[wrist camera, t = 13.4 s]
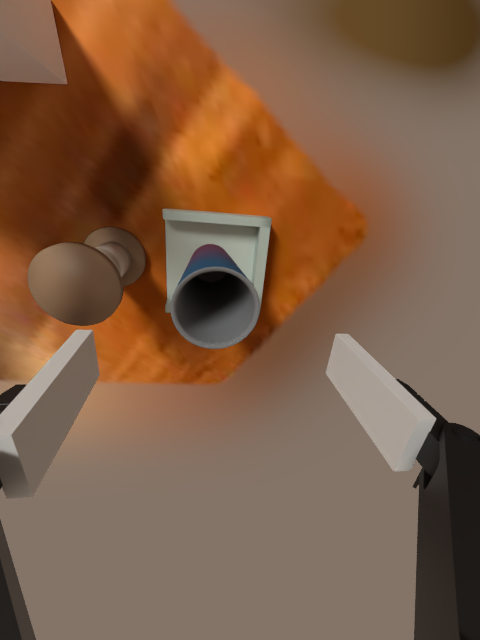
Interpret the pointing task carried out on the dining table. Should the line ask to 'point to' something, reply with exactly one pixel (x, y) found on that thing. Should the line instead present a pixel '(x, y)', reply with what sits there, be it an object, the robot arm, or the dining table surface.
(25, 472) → the robot arm
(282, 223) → the dining table surface
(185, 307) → the cup
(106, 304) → the doorknob
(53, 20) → the milk
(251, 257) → the square tray
